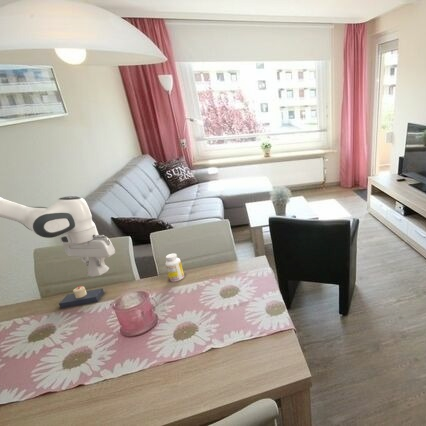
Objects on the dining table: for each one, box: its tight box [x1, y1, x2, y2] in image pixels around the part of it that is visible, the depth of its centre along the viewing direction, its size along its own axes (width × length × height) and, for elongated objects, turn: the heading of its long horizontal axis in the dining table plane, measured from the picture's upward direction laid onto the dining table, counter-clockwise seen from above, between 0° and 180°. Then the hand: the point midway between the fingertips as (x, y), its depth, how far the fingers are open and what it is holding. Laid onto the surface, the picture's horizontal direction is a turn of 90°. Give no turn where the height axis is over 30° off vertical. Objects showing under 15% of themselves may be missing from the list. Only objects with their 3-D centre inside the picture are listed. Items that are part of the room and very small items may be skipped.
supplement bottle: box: [164, 253, 185, 282], centre depth 142 cm, size 7×7×13 cm
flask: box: [87, 257, 110, 277], centre depth 121 cm, size 7×7×10 cm
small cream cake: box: [72, 285, 87, 298], centre depth 129 cm, size 4×4×4 cm
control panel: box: [58, 287, 105, 309], centre depth 130 cm, size 14×7×3 cm, turn 105°
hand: (95, 265), depth 122 cm, fingers closed on flask, 5 cm apart
